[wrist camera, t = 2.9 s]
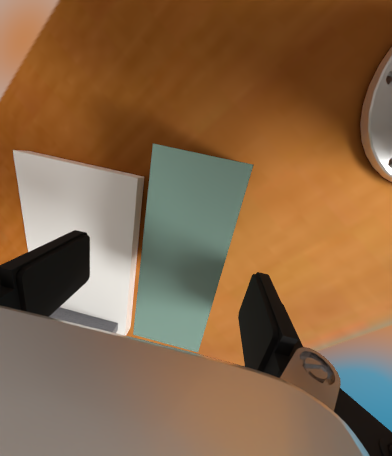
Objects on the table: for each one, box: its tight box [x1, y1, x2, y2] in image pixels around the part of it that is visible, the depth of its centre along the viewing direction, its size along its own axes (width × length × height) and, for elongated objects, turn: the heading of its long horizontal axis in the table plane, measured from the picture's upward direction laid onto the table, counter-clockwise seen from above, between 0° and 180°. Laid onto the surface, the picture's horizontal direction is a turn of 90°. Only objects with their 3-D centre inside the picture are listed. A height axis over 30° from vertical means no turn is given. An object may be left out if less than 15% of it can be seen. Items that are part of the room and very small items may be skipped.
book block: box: [133, 144, 253, 352], centre depth 15 cm, size 4×12×9 cm, turn 169°
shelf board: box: [13, 150, 144, 336], centre depth 21 cm, size 12×20×2 cm, turn 169°
